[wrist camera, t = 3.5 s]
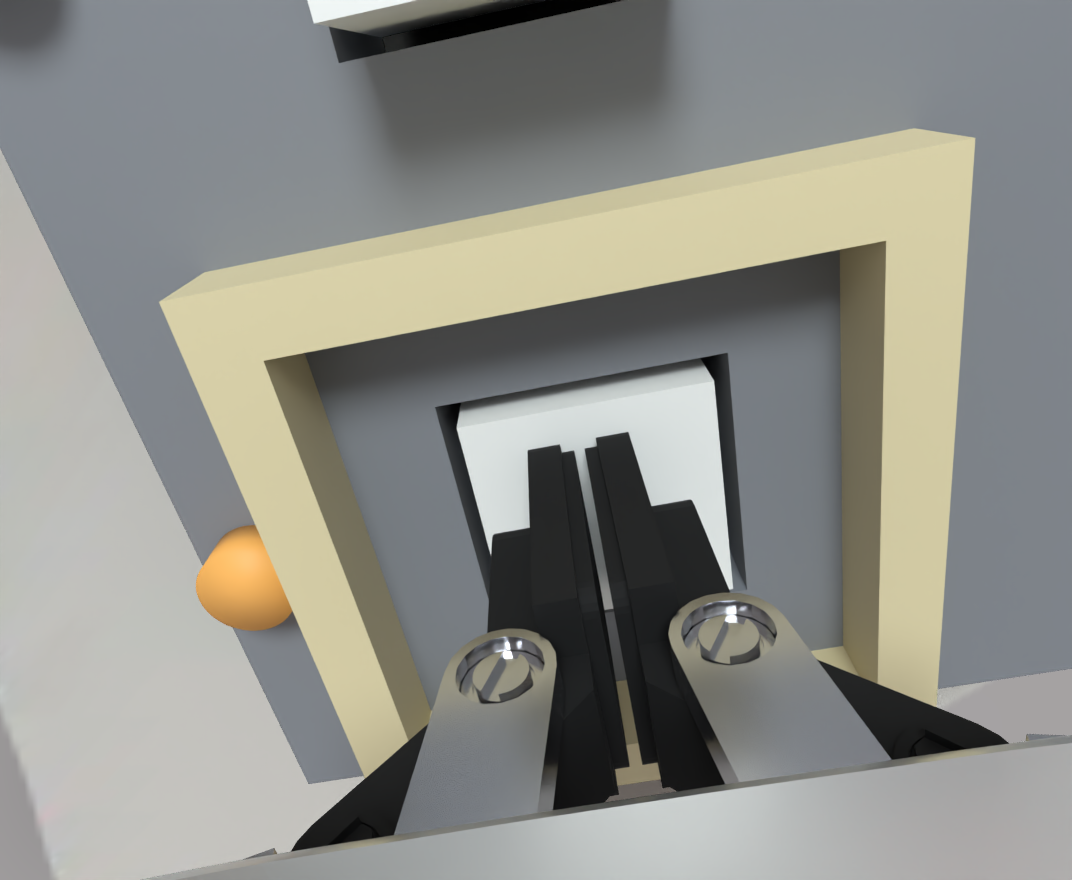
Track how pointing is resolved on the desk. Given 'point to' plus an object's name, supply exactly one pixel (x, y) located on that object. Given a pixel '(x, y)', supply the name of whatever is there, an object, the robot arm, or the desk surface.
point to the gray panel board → (575, 308)
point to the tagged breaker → (575, 422)
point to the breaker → (401, 13)
